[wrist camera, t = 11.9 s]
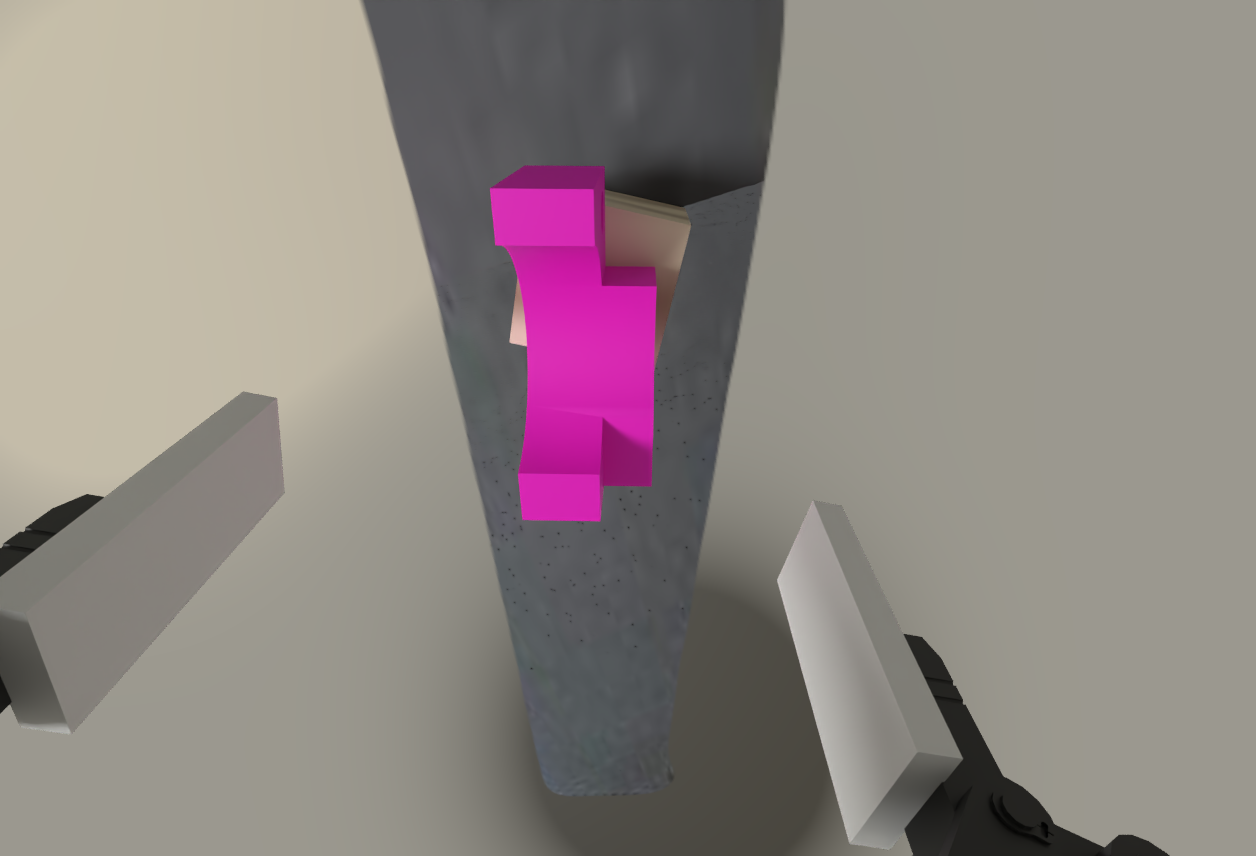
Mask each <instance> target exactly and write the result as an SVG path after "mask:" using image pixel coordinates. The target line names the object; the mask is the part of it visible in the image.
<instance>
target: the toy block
mask: <svg viewBox="0 0 1256 856" xmlns="http://www.w3.org/2000/svg"><path fill="white" fill-rule="evenodd" d="M490 193H491V203H492V213H493V223H494V234H495V244H496V245H502V246H503V247H505V248H506V250H507V251H508V252H509V254H510V256H511V258H512V261H513V263H514V266H515V269H516V272H517V276H518V280H519V285H520V289H521V295H522V301H523V308H524V316H525V325H526V337H527V357H528V397H527V416H526V428H525V437H524V445H523V452H522V458H521V463H520V467H519V472H518V478H519V488H520V498H521V508H522V518H523V520H560V521H600V520H601V509H602V499H603V488H604V486H651V483H652V450H653V411H654V349H655V315H656V290H657V284H656V272H655V267H638V266H606V250H605V166H523V167H522V168H520V169H519V170H517V171H516V172H514V173H513V174H511V175H510V176H508V177H507V178H505V179H504V180H502V181H501V182H499V183H498V184H496V185H494V186H493V187H491V188H490Z"/></svg>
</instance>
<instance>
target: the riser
mask: <svg viewBox="0 0 1256 856" xmlns="http://www.w3.org/2000/svg"><path fill="white" fill-rule="evenodd" d="M690 228H691V224H690V221H689V218H688V215H687V213H686V210H685V208H683V207H678V206H674V205H670V204H665V203H661V202H657V201H652V200H648V199H643V198H639V197H635V196H630V195H626V194H622V193H617V192H613V191H609V190H605V250H606V266H638V267H655V272H656V284H657V290H656V315H655V349H654V369H655V365H656V361H657V357H658V353H659V349H660V345H661V341H662V337H663V334H664V330H665V326H666V322H667V318H668V314H669V310H670V306H671V302H672V298H673V294H674V291H675V287H676V283H677V279H678V275H679V271H680V267H681V263H682V259H683V255H684V251H685V248H686V244H687V240H688V236H689V232H690ZM510 343H514V344H519V345H524V346H527V337H526V325H525V316H524V308H523V301H522V295H521V289H520V285H519V280H518V279H517V287H516V295H515V303H514V311H513V319H512V327H511V335H510Z"/></svg>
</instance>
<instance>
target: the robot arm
mask: <svg viewBox="0 0 1256 856" xmlns="http://www.w3.org/2000/svg"><path fill="white" fill-rule="evenodd" d="M282 469H283V467H282V455H281V443H280V430H279V417H278V405H277V398H274V397H268V396H264V395H258V394H253V393H248V392H242V393H241V394H240V395H238V396H237V397H235V398H234V399H233V400H231V401H230V402H229V403H228V404H226V405H225V406H224V407H222V408H221V409H220V410H218V411H217V412H216V413H214V414H213V415H212V416H210V417H209V418H208V419H207V420H205V421H204V422H203V423H201V424H200V425H199V426H197V427H196V428H195V429H193V430H192V431H191V432H189V433H188V434H187V435H186V436H184V437H183V438H182V439H180V440H179V441H178V442H176V443H175V444H174V445H173V446H171V447H170V448H168V449H167V450H166V451H165V452H163V453H162V454H161V455H159V456H158V457H157V458H155V459H154V460H153V461H151V462H150V463H149V464H148V465H146V466H145V467H144V468H142V469H141V470H140V471H138V472H137V473H136V474H135V475H133V476H132V477H130V478H129V479H128V480H127V481H125V482H124V483H123V484H121V485H120V486H119V487H117V488H116V489H115V490H114V491H112V492H111V493H110V494H108V495H107V496H106V497H101V496H95V495H89V494H86V495H84V496H81V497H79V498H77V499H74V500H72V501H69V502H67V503H65V504H62V505H60V506H57V507H55V508H53V509H51V510H50V511H48V512H47V513H46V514H44V515H43V516H41V517H40V518H39V519H37V520H36V521H34V522H33V523H32V524H30V525H29V526H27V527H26V528H25V531H24V532H19V533H18V534H16V535H15V536H13V537H12V538H11V539H9V540H8V541H7V542H5V543H4V544H3V547H2V548H0V713H1V712H2V711H3V710H4V709H5V708H6V707H7V706H8V705H9V704H10V705H11V707H12V710H13V712H14V714H15V716H16V719H17V721H18V723H19V725H20V727H22V728H29V729H36V730H43V731H51V732H58V733H65V734H72V733H73V732H74V731H75V730H76V729H77V727H78V726H79V725H80V724H81V723H82V722H83V721H84V720H85V718H86V717H87V716H88V715H89V714H90V713H91V712H92V711H93V709H94V708H95V707H96V706H97V705H98V704H99V703H100V701H101V700H102V699H103V698H104V697H105V696H106V695H107V693H108V692H109V691H110V690H111V689H112V688H113V686H114V685H115V684H116V683H117V682H118V681H119V680H120V679H121V678H122V676H123V675H124V674H125V673H126V672H127V671H128V670H129V669H130V667H131V666H132V665H133V664H134V663H135V662H136V661H137V659H138V658H139V657H140V656H141V655H142V654H143V653H144V651H145V650H146V649H147V648H148V647H149V646H150V645H151V644H152V642H153V641H154V640H155V639H156V638H157V637H158V636H159V634H160V633H161V632H162V631H163V630H164V629H165V627H167V625H168V624H169V623H170V622H171V621H172V620H173V619H174V617H175V616H176V615H177V614H178V613H179V611H181V609H182V608H183V607H184V606H185V605H186V604H187V603H188V602H189V600H190V599H191V598H192V597H193V596H194V595H195V594H196V593H197V591H198V590H199V589H200V588H201V587H202V585H204V583H205V582H206V581H207V580H208V579H209V578H210V577H211V575H212V574H213V573H214V572H215V571H216V570H217V569H218V567H219V566H220V565H221V564H222V563H223V562H224V561H225V560H226V558H227V557H228V556H229V555H230V554H231V553H232V552H233V551H234V549H235V548H236V547H237V546H238V545H239V544H240V543H241V541H242V540H243V539H244V538H245V537H246V536H247V535H248V533H249V532H250V531H251V530H252V529H253V528H254V527H255V525H256V524H257V523H258V522H259V521H260V520H261V518H263V516H264V515H265V514H266V513H267V512H268V511H269V510H270V508H271V507H272V506H273V505H274V504H275V503H276V502H277V500H278V499H279V498H280V497H281V496H282V495H283V494H284V480H283V470H282ZM777 581H778V585H779V589H780V592H781V596H782V600H783V603H784V607H785V611H786V614H787V618H788V622H789V625H790V628H791V632H792V636H793V640H794V643H795V647H796V651H797V654H798V658H799V661H800V665H801V669H802V672H803V676H804V679H805V683H806V687H807V690H808V694H809V698H810V701H811V705H812V708H813V712H814V716H815V720H816V723H817V727H818V730H819V734H820V738H821V741H822V745H823V749H824V752H825V756H826V760H827V763H828V767H829V770H830V774H831V778H832V781H833V785H834V789H835V792H836V796H837V799H838V803H839V807H840V810H841V814H842V817H843V821H844V825H845V828H846V832H847V836H848V840H849V843H850V844H854V845H861V846H869V847H876V848H883V849H891V848H892V846H893V845H894V844H895V843H896V842H897V840H898V839H899V838H900V837H901V835H902V834H903V833H904V832H906V835H907V838H908V841H909V844H910V847H911V849H912V852H913V856H1169V855H1168V854H1167V853H1165V852H1164V851H1162V850H1161V849H1159V848H1158V847H1156V846H1155V845H1153V844H1152V843H1150V842H1149V841H1146V840H1144V839H1141V838H1139V837H1136V836H1133V835H1118V836H1117V837H1116V838H1115V839H1114V840H1113V841H1112V842H1110V843H1109V844H1108V845H1107V846H1106V847H1105V848H1104V847H1102V846H1100V845H1098V844H1096V843H1093V842H1091V841H1089V840H1087V839H1085V838H1082V837H1080V836H1078V835H1076V834H1074V833H1071V832H1070V831H1067V830H1065V829H1063V828H1061V827H1059V826H1057V825H1055V824H1054V823H1053V821H1052V819H1051V817H1050V815H1049V814H1048V813H1047V812H1046V810H1045V809H1044V808H1043V806H1042V805H1041V804H1040V802H1039V801H1038V800H1037V799H1036V798H1034V797H1033V796H1032V795H1031V794H1030V793H1029V792H1028V791H1026V790H1025V789H1024V788H1023V787H1022V786H1020V785H1018V784H1016V783H1014V782H1013V781H1011V780H1009V779H1007V778H1005V777H1003V775H1002V773H1001V771H1000V769H999V768H998V766H997V764H996V762H995V760H994V758H993V756H992V754H991V753H990V750H989V749H988V747H987V745H986V743H985V741H984V739H983V737H982V735H981V733H980V731H979V730H978V728H977V726H976V724H975V722H974V720H973V718H972V716H971V714H970V712H969V711H968V709H967V707H966V705H963V699H962V697H961V695H960V694H959V691H958V689H957V688H956V686H953V680H952V678H951V676H950V674H949V672H948V670H947V669H946V667H945V665H944V663H943V661H942V659H941V658H940V657H939V655H937V653H936V652H935V651H934V650H933V649H932V648H931V647H930V646H929V645H928V643H927V642H926V641H925V640H924V639H923V638H922V637H918V636H913V635H907V634H903V632H902V630H901V628H900V626H899V624H898V622H897V620H896V618H895V616H894V614H893V612H892V609H891V607H890V605H889V603H888V601H887V599H886V597H885V595H884V593H883V591H882V589H881V587H880V584H879V582H878V580H877V578H876V576H875V574H874V572H873V570H872V568H871V566H870V563H869V561H868V559H867V557H866V555H865V553H864V551H863V549H862V547H861V545H860V543H859V540H858V538H857V536H856V534H855V532H854V530H853V528H852V526H851V524H850V522H849V520H848V517H847V515H846V513H845V511H844V509H843V507H842V506H841V505H836V504H830V503H825V502H820V501H815V500H813V502H812V504H811V506H810V508H809V510H808V513H807V515H806V517H805V519H804V522H803V524H802V526H801V528H800V530H799V533H798V535H797V537H796V539H795V542H794V544H793V546H792V548H791V550H790V553H789V555H788V557H787V560H786V562H785V564H784V566H783V568H782V571H781V573H780V575H779V577H778V580H777Z"/></svg>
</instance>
